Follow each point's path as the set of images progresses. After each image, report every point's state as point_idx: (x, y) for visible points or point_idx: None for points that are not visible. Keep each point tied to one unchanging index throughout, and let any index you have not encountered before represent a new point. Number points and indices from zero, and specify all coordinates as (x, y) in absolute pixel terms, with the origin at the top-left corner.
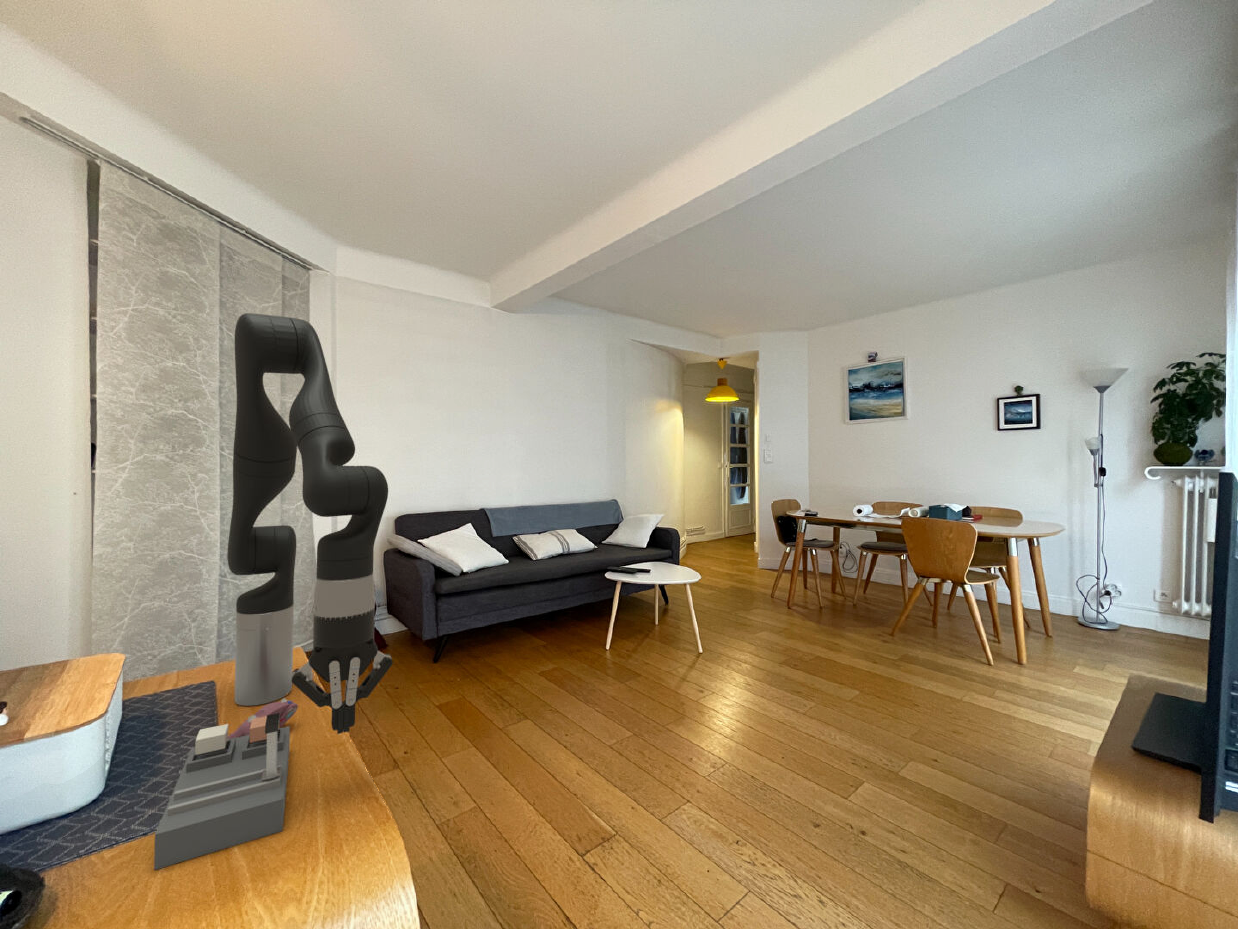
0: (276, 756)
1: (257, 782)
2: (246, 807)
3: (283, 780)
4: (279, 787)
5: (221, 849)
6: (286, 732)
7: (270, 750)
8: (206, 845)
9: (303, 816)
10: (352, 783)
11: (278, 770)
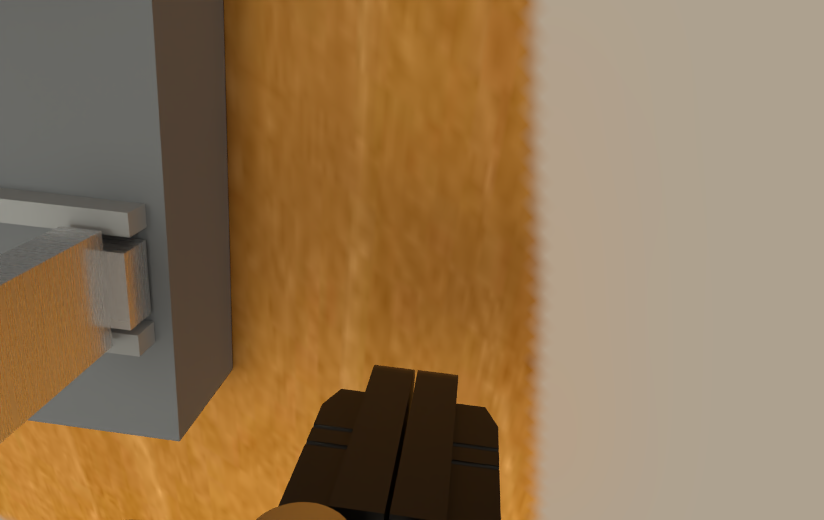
0: (53, 331)
1: None
2: (52, 411)
3: (164, 302)
4: (154, 348)
5: None
6: None
7: None
8: None
9: (296, 328)
10: (492, 221)
11: (116, 291)
